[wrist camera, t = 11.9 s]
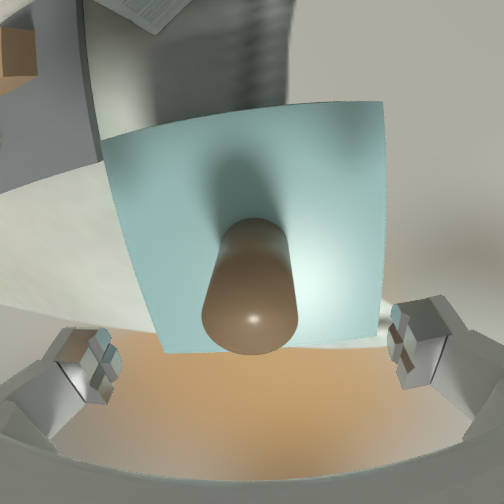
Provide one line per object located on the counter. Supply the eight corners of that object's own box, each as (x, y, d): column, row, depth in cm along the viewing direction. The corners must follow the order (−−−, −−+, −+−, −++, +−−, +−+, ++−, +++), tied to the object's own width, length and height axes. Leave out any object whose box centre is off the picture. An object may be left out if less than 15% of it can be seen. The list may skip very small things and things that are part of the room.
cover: (156, 125, 19) (28, 166, 8) (339, 101, 18) (445, 105, 7) (191, 281, 24) (141, 422, 13) (347, 266, 23) (401, 406, 12)
